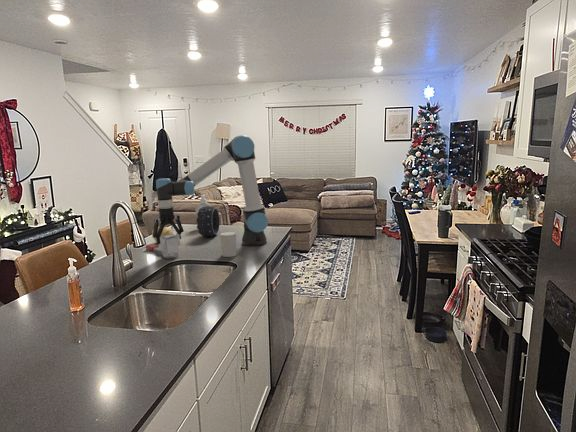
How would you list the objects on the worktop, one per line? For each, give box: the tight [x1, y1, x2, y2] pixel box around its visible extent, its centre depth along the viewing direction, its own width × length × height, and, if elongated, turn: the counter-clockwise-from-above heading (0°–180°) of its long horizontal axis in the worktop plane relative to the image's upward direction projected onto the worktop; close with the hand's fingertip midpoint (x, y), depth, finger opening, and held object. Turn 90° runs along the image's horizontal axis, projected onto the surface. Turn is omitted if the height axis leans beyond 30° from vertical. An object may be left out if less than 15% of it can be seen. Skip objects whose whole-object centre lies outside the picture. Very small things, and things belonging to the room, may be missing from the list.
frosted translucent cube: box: [160, 233, 180, 254], centre depth 212 cm, size 7×7×9 cm
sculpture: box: [151, 225, 174, 243], centre depth 245 cm, size 11×12×11 cm
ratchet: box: [145, 243, 179, 260], centre depth 220 cm, size 30×8×8 cm, turn 45°
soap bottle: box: [195, 194, 212, 217], centre depth 281 cm, size 13×8×24 cm, turn 83°
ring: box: [195, 205, 221, 237], centre depth 257 cm, size 11×20×20 cm, turn 174°
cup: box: [220, 231, 238, 258], centre depth 212 cm, size 8×8×12 cm
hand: (169, 247), depth 212 cm, fingers open, 10 cm apart
